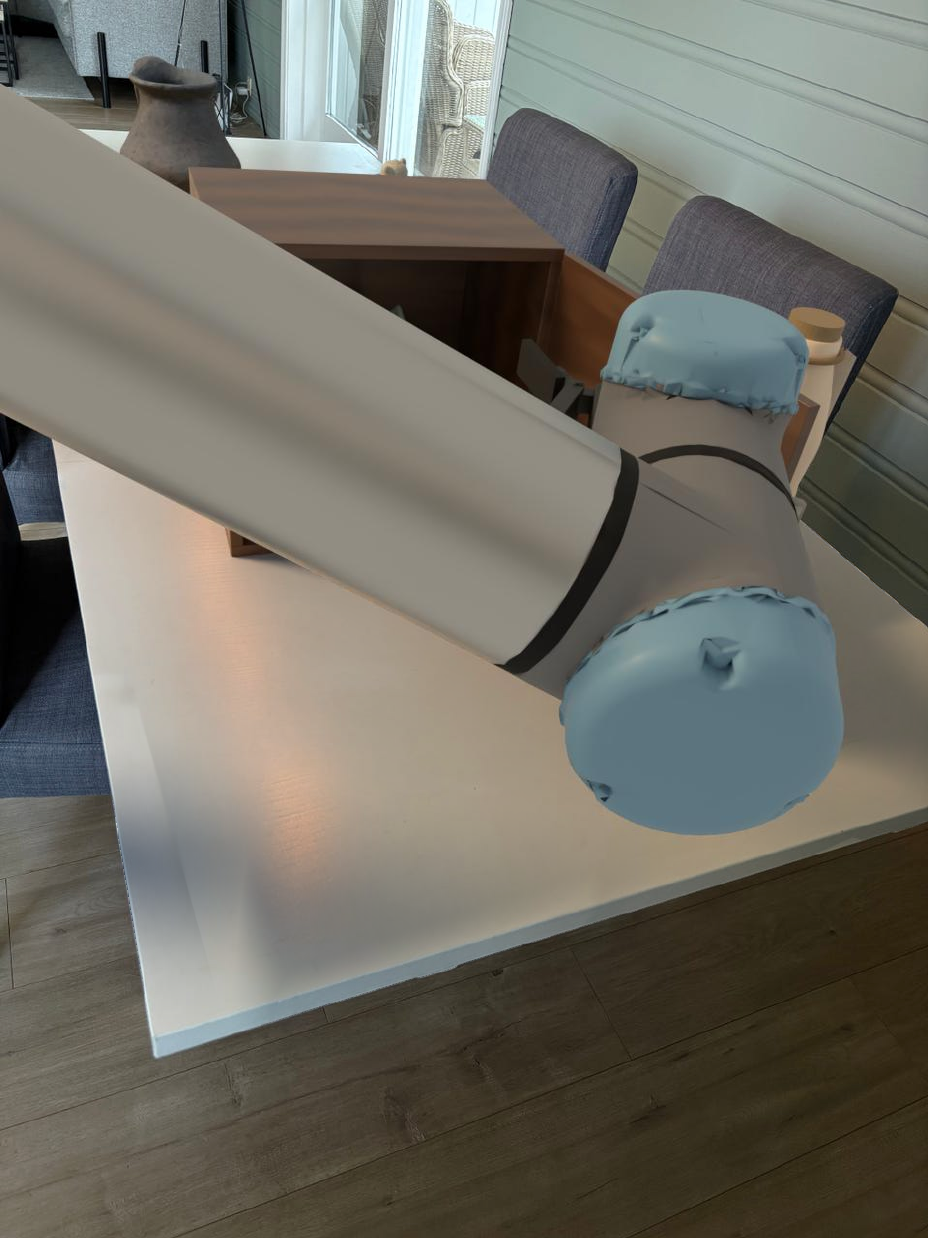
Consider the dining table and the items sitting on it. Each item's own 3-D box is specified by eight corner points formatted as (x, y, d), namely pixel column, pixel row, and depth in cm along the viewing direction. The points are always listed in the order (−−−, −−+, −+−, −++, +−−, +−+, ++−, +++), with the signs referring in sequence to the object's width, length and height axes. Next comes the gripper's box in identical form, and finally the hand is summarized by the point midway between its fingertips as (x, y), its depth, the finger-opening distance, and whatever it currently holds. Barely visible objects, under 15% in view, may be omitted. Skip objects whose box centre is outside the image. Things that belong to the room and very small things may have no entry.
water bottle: (724, 532, 105) (810, 291, 88) (789, 572, 100) (894, 325, 83) (667, 558, 100) (747, 306, 82) (733, 602, 95) (833, 343, 77)
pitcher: (168, 245, 157) (154, 80, 142) (100, 209, 168) (80, 52, 152) (264, 229, 170) (261, 76, 154) (196, 197, 180) (187, 50, 165)
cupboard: (514, 532, 100) (565, 248, 81) (231, 556, 91) (214, 242, 72) (453, 435, 116) (485, 178, 97) (207, 447, 106) (188, 166, 87)
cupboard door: (564, 524, 102) (625, 250, 83) (746, 702, 83) (879, 395, 64) (512, 535, 99) (564, 253, 81) (688, 722, 80) (810, 407, 61)
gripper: (327, 592, 50) (265, 410, 65) (717, 553, 58) (581, 399, 73) (332, 472, 45) (264, 306, 60) (756, 448, 53) (602, 307, 68)
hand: (437, 357), depth 66 cm, fingers open, 13 cm apart
